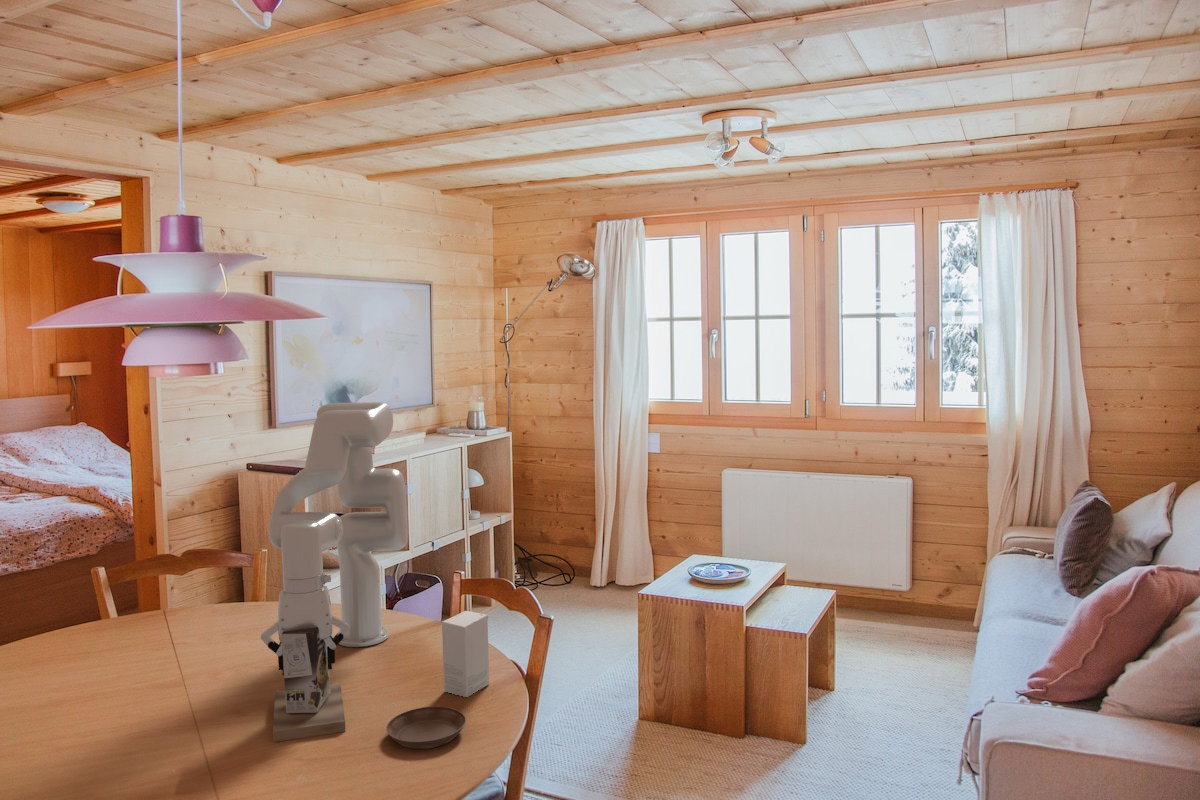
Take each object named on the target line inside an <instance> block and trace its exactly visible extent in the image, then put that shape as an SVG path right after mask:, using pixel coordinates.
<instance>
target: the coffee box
mask: <svg viewBox="0 0 1200 800" xmlns="http://www.w3.org/2000/svg"><path fill="white" fill-rule="evenodd" d="M327 646H328V645H327V644H326V642H325V641H324V640H320V635H319V628H318V627H313V628H304V629H298V630H294V631H285V632H283V633H282V650H283V667H284V675H283V681H284V683H283V684H284V690H285V701H286V713H316V712H318V710H319V709H320V708H321V706H322V705H323V703H324V702H325V701H326V699H327V698H328V696H329V695H330V694H331V690H330V684H331V677H330V669H328V659H327Z"/></svg>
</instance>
